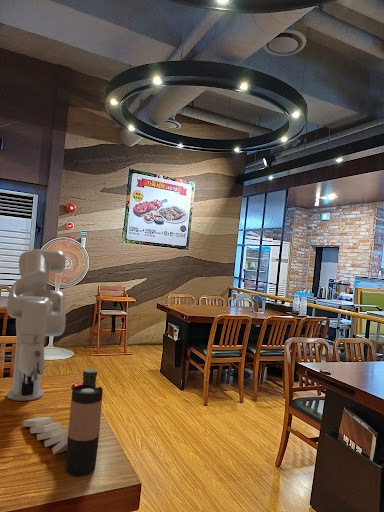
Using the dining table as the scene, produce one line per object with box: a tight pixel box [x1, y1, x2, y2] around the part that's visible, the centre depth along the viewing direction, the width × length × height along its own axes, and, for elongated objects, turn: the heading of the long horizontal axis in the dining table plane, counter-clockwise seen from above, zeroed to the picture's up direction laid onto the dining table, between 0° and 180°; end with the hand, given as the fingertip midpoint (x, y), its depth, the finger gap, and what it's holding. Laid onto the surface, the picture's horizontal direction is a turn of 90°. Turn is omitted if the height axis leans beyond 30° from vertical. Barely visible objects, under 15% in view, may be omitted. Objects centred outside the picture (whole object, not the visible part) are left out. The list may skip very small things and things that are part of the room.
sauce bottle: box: [81, 368, 98, 388], centre depth 112 cm, size 6×6×20 cm
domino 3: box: [36, 426, 69, 441], centre depth 107 cm, size 2×5×10 cm
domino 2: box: [29, 422, 62, 434], centre depth 111 cm, size 2×5×10 cm
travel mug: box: [65, 384, 104, 477], centre depth 96 cm, size 8×8×20 cm
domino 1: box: [22, 416, 54, 428], centre depth 115 cm, size 2×5×10 cm
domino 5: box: [51, 435, 68, 455], centre depth 101 cm, size 2×5×10 cm
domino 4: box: [44, 432, 68, 448], centre depth 104 cm, size 2×5×10 cm
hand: (27, 394), depth 123 cm, fingers closed
